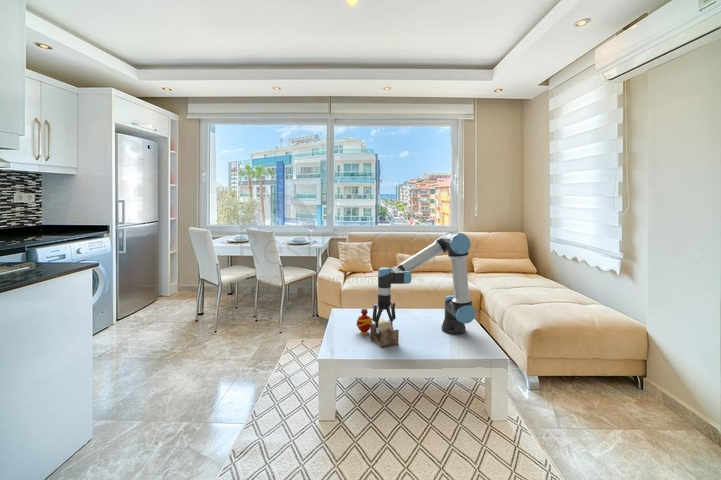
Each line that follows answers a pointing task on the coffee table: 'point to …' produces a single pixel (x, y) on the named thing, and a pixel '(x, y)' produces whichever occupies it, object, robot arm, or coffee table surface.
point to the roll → (385, 325)
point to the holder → (384, 337)
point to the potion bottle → (364, 322)
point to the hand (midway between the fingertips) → (383, 331)
